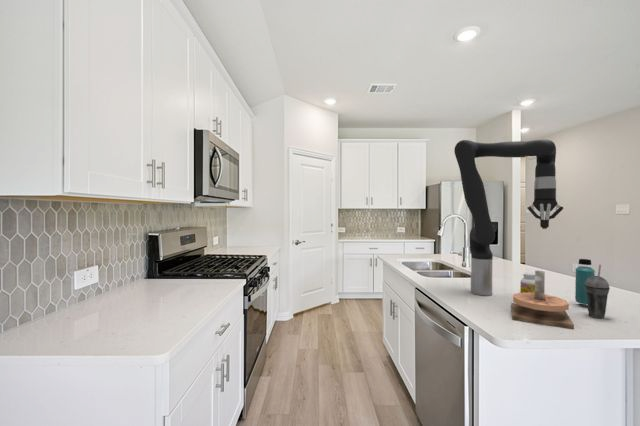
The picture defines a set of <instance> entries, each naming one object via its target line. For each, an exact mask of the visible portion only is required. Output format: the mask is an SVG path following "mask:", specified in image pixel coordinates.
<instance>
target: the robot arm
mask: <svg viewBox="0 0 640 426" xmlns="http://www.w3.org/2000/svg"><path fill="white" fill-rule="evenodd" d="M453 150H454V156H455V159H456V161H457V165H458V168H459V172H460V173H459V174H460V180H461V185H462V191H463V197H464V199H465V200H464V201H465V203H466V205H467V208H468V210H469V213H470V214H471V217H472V218H473V227H472V228H471V229H470V232H469V252H470V254H471V255H470V256H471V258H470V259H471V260H470V261H471V264H470V267H471V269H470V270H471V271H470V272H471V273H470V294H474V295H478V296H492V295H493V257H494V256H493V253H492V251H491V247H490V245H492V244H493V242H494V241H495V239H496V232H495V229H494V226H493V222H492V220H491V217H490V212H489V207H488V206H489V205H488V200H487V194H486V190H485V185H484V181H483V179H482V176H481V175H480V173H479V171H478V168H477V165H476V158H487V157H494V158H495V157H496V158H525V157H536V159H535V160H536V163H535V164H536V166H535V168H534V169H535V170H534V183H533V189H534V190H533V191H534V192H533V194H534V195H533V199H534V200H533V201H532V204H531V205H530V206H527V208H526V209H527V210H528V211H529V212H530V213H531V214H532V215H533V217H535V219H537V220H538V219H539V220H540V221H539V225H540V228H542V229H543V230H547V228H549V227H550V220H551V219H555V218H556V217H557V216H558V215H559V214H560V213H561V212H562V211H563V210H564V207H563V206H561V205H560V204H558V201H557V179H556V178H557V177H556V173H557V172H556V156H557V147H556V144H555V143H554V141H553V140H550V139H535V140H534V139H533V140H527V141H524V140H523V141H522V140H519V141H518V140H517V141H516V140H515V141H502V142H494V143H493V142H489V143H487V142H486V143H485V142H476V141H472V140H470V139H468V140H467V139H462V140H460V141H458V142H457V143H456V144H455V146H454V149H453ZM535 209H536V210H537V211H538V212H539V214H537V212H536V211H535ZM554 209H555V211H553V210H554ZM552 211H553V213H552V214H551V212H552Z"/></svg>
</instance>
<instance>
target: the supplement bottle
mask: <svg viewBox="0 0 640 426" xmlns="http://www.w3.org/2000/svg"><path fill="white" fill-rule="evenodd" d="M522 274H523V278H521V279H520V291H519V293H535V272H523V273H522Z"/></svg>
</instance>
